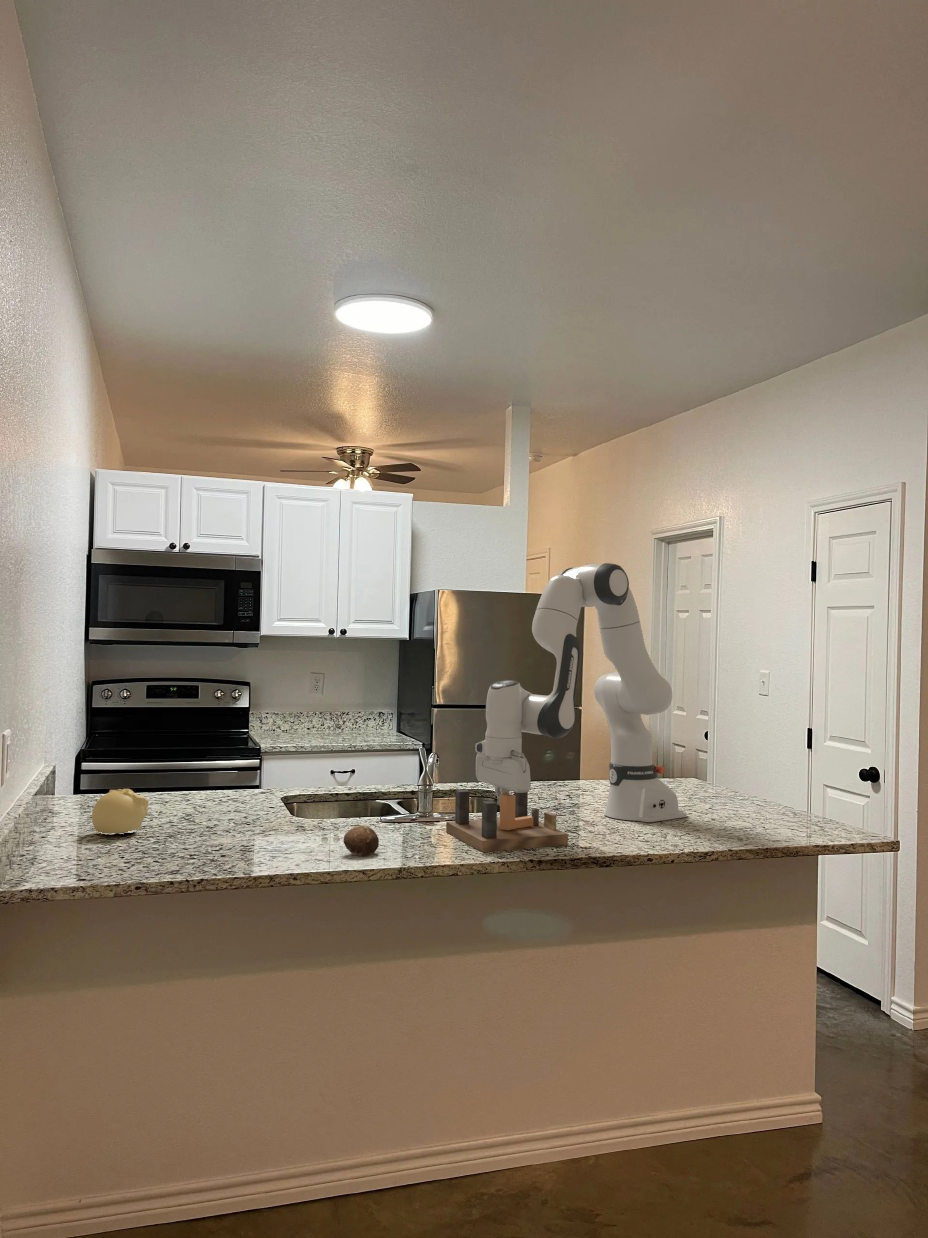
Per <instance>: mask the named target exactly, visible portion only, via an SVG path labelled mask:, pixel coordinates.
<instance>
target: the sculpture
mask: <svg viewBox="0 0 928 1238" xmlns="http://www.w3.org/2000/svg"><path fill="white" fill-rule="evenodd" d="M148 807H149V800H148V798H147V797H146V796H143V795H140V794H138V793H135V792H134V791H133V789H130V788H122V789H121V788H118V789H109V791H108V792H107V793H106V794H104V795H102V796H101V797H100V798H99V799H97V801H96V802H95V804H94V806H93V809H92V812H91V822H92V825H93V828H94V829H95V831H96V832H97V831H98V832H102V833H122V832H128V831H132V830H135V829H138V828H139V827H140V828H141V827H142V824H143V822H144V819H145V818H146V817H147V816H148V811H149V809H148ZM140 828H139V829H140ZM139 829H138V830H139ZM98 832H97V833H98Z"/></svg>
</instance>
